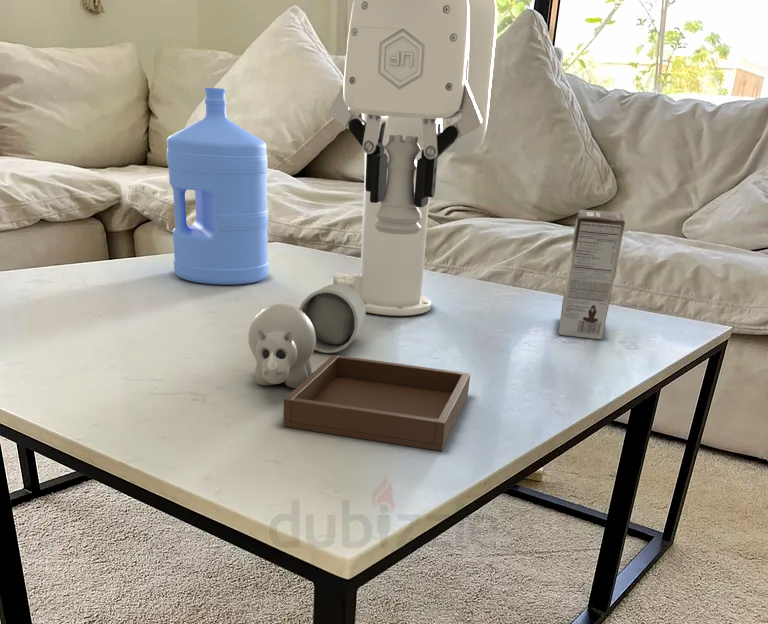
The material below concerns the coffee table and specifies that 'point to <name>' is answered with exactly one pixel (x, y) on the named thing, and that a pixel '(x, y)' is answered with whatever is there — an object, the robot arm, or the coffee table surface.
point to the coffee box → (591, 273)
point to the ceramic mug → (334, 316)
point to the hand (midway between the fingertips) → (399, 201)
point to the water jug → (219, 199)
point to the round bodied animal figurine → (282, 345)
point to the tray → (379, 402)
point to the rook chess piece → (400, 188)
